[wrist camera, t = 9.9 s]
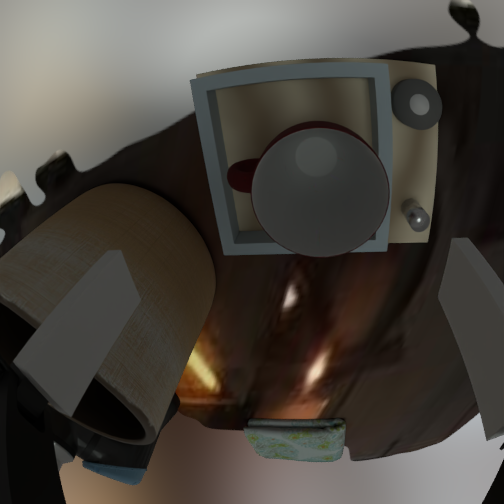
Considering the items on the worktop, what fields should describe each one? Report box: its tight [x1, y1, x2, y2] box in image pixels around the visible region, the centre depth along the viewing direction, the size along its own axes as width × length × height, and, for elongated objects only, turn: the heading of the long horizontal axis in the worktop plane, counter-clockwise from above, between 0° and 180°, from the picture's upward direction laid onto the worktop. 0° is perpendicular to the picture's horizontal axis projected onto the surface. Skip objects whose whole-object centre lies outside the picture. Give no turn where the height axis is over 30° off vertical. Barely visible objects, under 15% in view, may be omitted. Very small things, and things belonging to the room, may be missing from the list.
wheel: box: [391, 79, 442, 130], centre depth 19 cm, size 4×4×2 cm
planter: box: [0, 183, 216, 445], centre depth 27 cm, size 22×22×20 cm
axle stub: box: [401, 198, 430, 232], centre depth 23 cm, size 2×2×3 cm
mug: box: [227, 121, 390, 258], centre depth 20 cm, size 10×8×10 cm
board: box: [196, 58, 438, 243], centre depth 24 cm, size 21×18×1 cm
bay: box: [190, 62, 393, 255], centre depth 23 cm, size 15×16×2 cm
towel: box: [244, 418, 346, 462], centre depth 54 cm, size 18×21×5 cm
